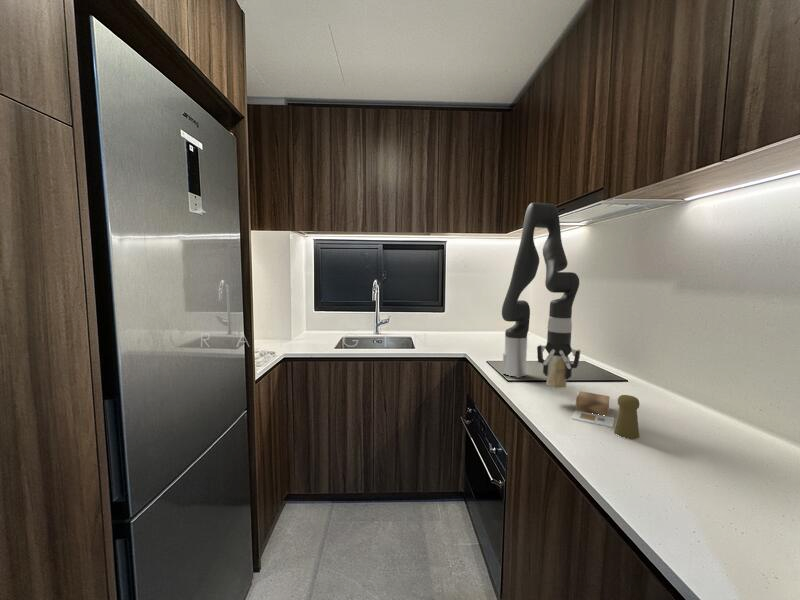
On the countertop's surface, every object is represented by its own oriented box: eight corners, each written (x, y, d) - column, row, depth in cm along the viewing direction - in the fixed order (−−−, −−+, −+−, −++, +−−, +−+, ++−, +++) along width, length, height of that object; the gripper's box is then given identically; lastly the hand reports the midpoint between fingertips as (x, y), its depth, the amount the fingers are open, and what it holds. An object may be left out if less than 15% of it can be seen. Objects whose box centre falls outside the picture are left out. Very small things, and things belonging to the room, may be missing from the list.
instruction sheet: (571, 418, 112) (571, 418, 112) (575, 410, 118) (575, 409, 118) (612, 427, 106) (612, 426, 105) (614, 418, 112) (614, 417, 112)
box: (554, 388, 123) (555, 356, 122) (545, 384, 127) (547, 353, 126) (567, 387, 125) (568, 356, 123) (558, 383, 129) (560, 352, 128)
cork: (616, 427, 105) (618, 391, 104) (640, 433, 102) (642, 395, 101) (612, 434, 101) (614, 396, 100) (638, 441, 97) (640, 401, 96)
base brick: (575, 410, 119) (576, 398, 118) (579, 402, 126) (579, 391, 126) (607, 416, 114) (607, 404, 113) (608, 407, 121) (609, 396, 121)
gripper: (584, 330, 123) (581, 378, 125) (540, 326, 131) (537, 370, 133) (581, 334, 117) (577, 383, 119) (535, 329, 125) (532, 375, 127)
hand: (556, 376), depth 126 cm, fingers closed on box, 6 cm apart
